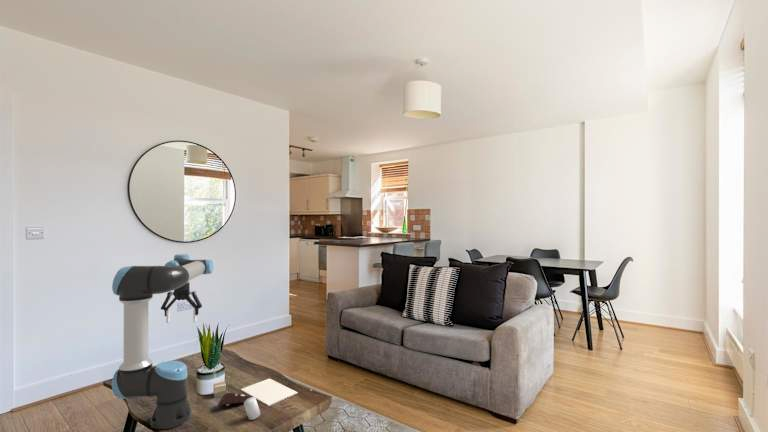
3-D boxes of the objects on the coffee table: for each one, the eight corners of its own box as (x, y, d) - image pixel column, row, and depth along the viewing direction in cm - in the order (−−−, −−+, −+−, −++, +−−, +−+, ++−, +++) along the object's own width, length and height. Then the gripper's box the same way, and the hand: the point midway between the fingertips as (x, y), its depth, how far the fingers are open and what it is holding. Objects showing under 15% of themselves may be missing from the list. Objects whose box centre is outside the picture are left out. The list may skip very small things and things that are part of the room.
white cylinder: (259, 417, 158) (254, 402, 157) (247, 421, 157) (242, 406, 156) (261, 410, 163) (256, 395, 162) (249, 413, 162) (244, 399, 161)
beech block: (225, 395, 180) (226, 385, 180) (214, 397, 177) (214, 387, 177) (224, 391, 184) (224, 381, 184) (213, 393, 182) (213, 383, 182)
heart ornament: (217, 414, 166) (225, 397, 176) (245, 414, 166) (251, 397, 177) (216, 401, 164) (224, 385, 174) (244, 401, 165) (251, 385, 175)
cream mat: (297, 393, 182) (297, 392, 182) (268, 406, 169) (268, 405, 169) (269, 379, 197) (269, 378, 197) (240, 390, 185) (240, 389, 185)
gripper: (208, 280, 211) (208, 318, 211) (160, 282, 207) (159, 320, 207) (203, 283, 203) (203, 322, 203) (153, 284, 200) (153, 324, 200)
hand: (181, 321), depth 205 cm, fingers open, 13 cm apart
